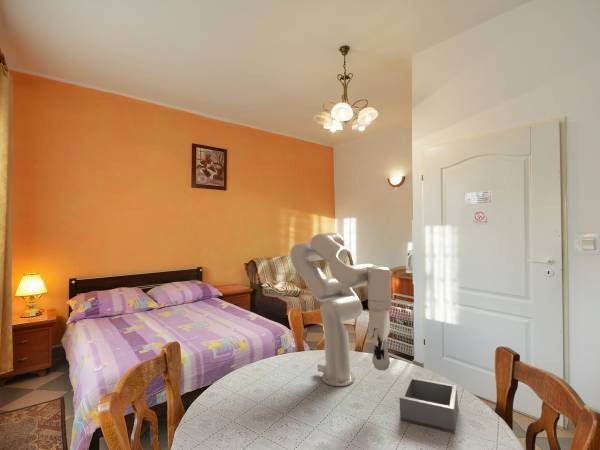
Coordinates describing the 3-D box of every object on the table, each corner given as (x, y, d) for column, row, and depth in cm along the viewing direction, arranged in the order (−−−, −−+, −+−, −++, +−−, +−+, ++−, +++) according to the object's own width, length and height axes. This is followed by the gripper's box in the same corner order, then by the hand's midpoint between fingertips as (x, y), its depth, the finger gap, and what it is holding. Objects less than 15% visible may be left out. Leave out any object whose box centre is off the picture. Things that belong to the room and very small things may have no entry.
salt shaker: (390, 372, 105) (389, 332, 105) (372, 371, 106) (371, 331, 106) (389, 364, 111) (388, 326, 110) (372, 363, 112) (371, 326, 112)
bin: (400, 420, 99) (399, 397, 99) (409, 397, 112) (408, 376, 112) (454, 433, 91) (453, 409, 92) (457, 407, 105) (456, 385, 105)
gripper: (375, 297, 117) (376, 348, 117) (360, 309, 103) (362, 366, 103) (396, 299, 113) (397, 351, 114) (384, 311, 99) (386, 371, 99)
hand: (380, 358), depth 108 cm, fingers closed on salt shaker, 3 cm apart
